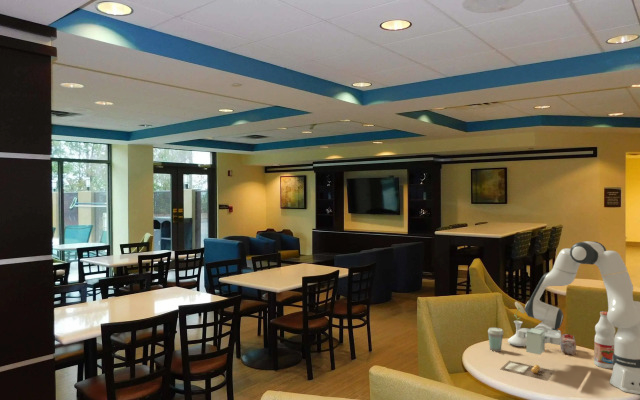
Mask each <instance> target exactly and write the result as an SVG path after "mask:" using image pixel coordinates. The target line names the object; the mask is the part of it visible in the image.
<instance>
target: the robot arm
mask: <svg viewBox="0 0 640 400" xmlns="http://www.w3.org/2000/svg"><path fill="white" fill-rule="evenodd" d="M581 264H582V265H595V266H597V268H598V270H599V272H600V275H601V279H602V281H603V284H604V287H605V290H606V297H607V307H608V308H607V311H606V312H607V319H608V321H609V322H610V324H612V325H613V326H614V327H615V328H617V329H616V330H617V331H616V332H615V335H614V353H613V368H612V372H611V376H610V379H609V384H611V385H612V386H614V387H615V388H617V389H620V390H621V391H622V392H625V393H629V394H635V395H640V301H637V300H634V296H633V292H634V286H633V283H632V279H631V276H630V273H629V271H628V268H627V267H626V264H625V261H624V260H623V258H622V256H621V255H620V253H619V252H618V251H616V250H607V248H606V246H604V245H603V244H602V243H600V242H598V241H579V242H576V243H575V244H573V245H572V246H571V248H568V247H567V248H566V247H565V248H562V249H560V251H559V253H558V255H557V256H556V259H555V260H554V264H553V267H552V268H551V270H550V271H549V272H545V273H543V275H542V276H541V278H540V280H539V281H538V284H537V285H536V287H535V289H534V291H533V292H532V295H531V296H530V298H529V299H528V301H527V302H526V303H525V306H524V310H525V314H526V315H527V317H528V318H532V319H536V320H538V321H541V322H540V323H538V325H536V326H535V327H534V329H540V330H545V339H543V343H545V344H552V345H555V346H556V345H557V346H560V345H561V340H562V331H561V330H559V329H560V328H561V326H562V324H563V321H564V313H563V310H562V309H561V308H560V307H557V306H554V305H552V304H549V303H546V302H543V301H542V300H540V299H541V297H542V295H543V294H544V291H546V290H545V289H546V288H547V287H564V286H568V285H571V284H572V283H573V282H574V281H575V279H576V276H577V273H578V270H579V267H580V265H581ZM529 329H530V328H526V327H522V328H520V329H519V330H518V337H520V338H525V339H526V340H527V331H528V330H529Z"/></svg>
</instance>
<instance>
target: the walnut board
mask: <svg viewBox="0 0 640 400" xmlns="http://www.w3.org/2000/svg"><path fill="white" fill-rule="evenodd" d="M533 367H534V365H530V364H527V363H521V362H517V361H512V360H508V361H507V362H506V363H505V364H503V365H502V366H501V367H500V368H499V370H501V371H505V372H508V373H513V374H517V375H521V376H525V377H529V378H534V379H537V380H538V379H539V380H542V381H548V382H549V379H550V378H551V377H552V376H553V374H554V373H555V370H553V369H549V368H545V367H544V368H543V367H540V370H539V371H538V373H533V372H532V370H531V369H532V368H533Z"/></svg>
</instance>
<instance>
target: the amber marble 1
mask: <svg viewBox="0 0 640 400" xmlns="http://www.w3.org/2000/svg"><path fill="white" fill-rule="evenodd" d="M531 370H532V372H533V373H538V369H537V368H536V367H533V368H532V369H531Z"/></svg>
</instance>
